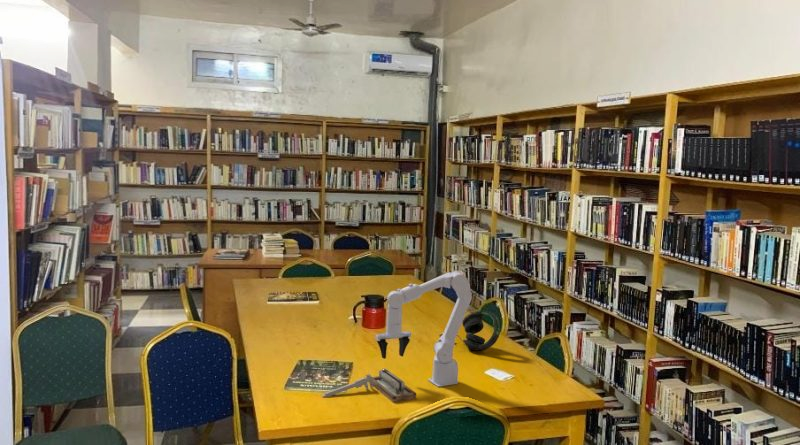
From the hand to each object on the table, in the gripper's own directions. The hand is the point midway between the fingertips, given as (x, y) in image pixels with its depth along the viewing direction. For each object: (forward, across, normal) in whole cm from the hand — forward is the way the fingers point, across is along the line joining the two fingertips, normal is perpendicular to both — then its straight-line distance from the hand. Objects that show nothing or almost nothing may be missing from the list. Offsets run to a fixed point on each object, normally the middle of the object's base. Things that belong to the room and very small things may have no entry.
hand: (392, 356), depth 232 cm
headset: (+10, -53, -24) cm, 59 cm away
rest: (+10, +4, +8) cm, 13 cm away
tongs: (+9, +4, +8) cm, 12 cm away
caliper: (+10, +20, +4) cm, 23 cm away
